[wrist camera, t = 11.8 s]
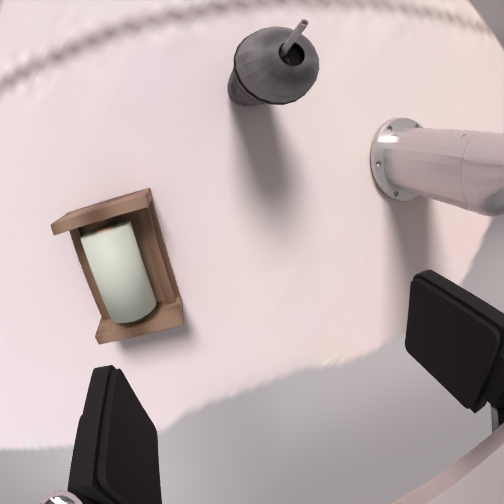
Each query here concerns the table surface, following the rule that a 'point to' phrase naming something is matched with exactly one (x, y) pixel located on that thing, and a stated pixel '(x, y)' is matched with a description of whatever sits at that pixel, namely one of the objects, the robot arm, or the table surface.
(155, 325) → the walnut cradle
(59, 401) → the table surface
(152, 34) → the table surface
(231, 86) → the beverage cup
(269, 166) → the table surface
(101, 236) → the paper roll
